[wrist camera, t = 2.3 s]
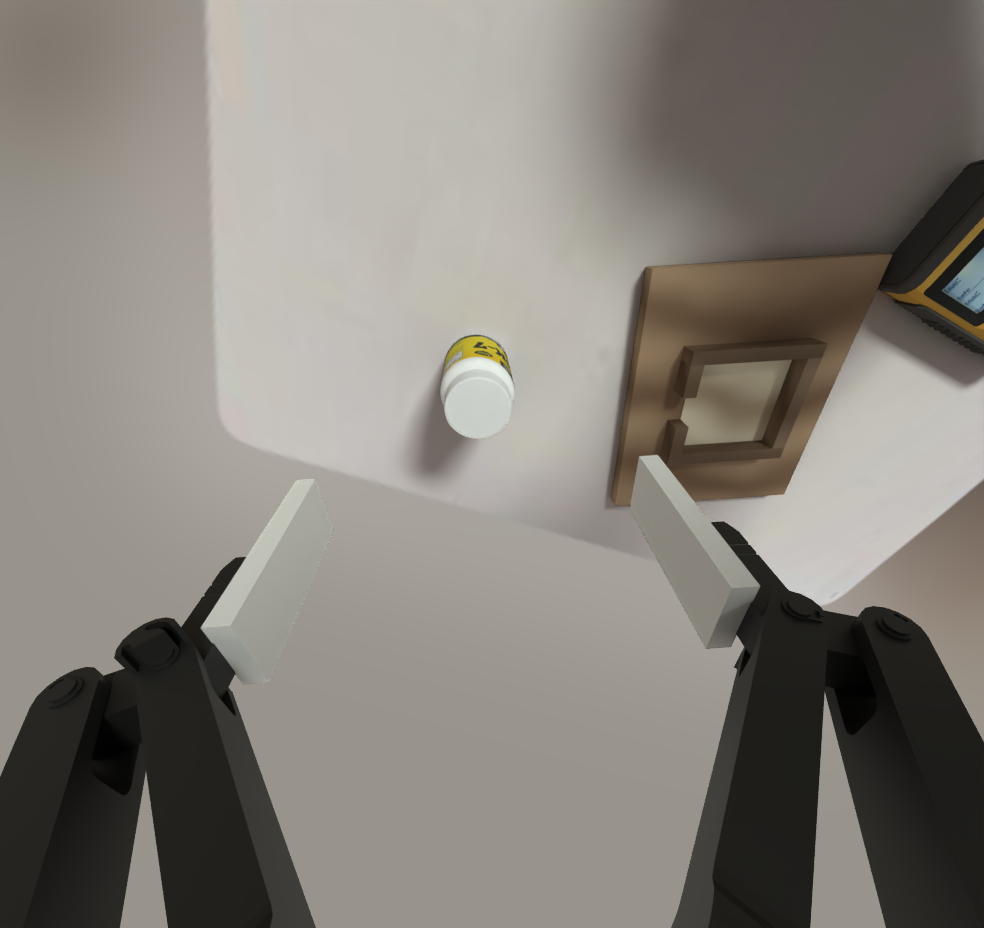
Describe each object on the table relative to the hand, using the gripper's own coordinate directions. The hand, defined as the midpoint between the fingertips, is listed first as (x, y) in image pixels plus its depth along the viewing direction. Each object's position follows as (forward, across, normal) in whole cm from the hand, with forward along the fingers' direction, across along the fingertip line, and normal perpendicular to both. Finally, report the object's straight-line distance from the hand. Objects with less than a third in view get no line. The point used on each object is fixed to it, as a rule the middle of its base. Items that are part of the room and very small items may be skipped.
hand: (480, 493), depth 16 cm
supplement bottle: (+16, 0, 0) cm, 16 cm away
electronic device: (+17, +37, +4) cm, 41 cm away
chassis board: (+16, +20, -4) cm, 26 cm away
